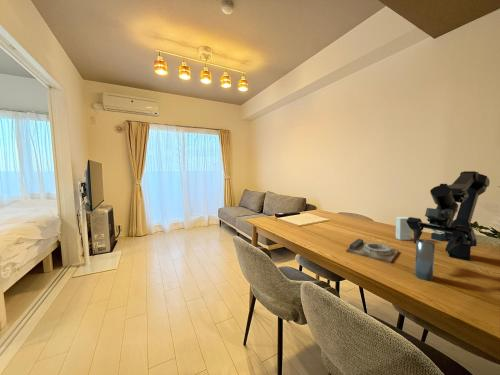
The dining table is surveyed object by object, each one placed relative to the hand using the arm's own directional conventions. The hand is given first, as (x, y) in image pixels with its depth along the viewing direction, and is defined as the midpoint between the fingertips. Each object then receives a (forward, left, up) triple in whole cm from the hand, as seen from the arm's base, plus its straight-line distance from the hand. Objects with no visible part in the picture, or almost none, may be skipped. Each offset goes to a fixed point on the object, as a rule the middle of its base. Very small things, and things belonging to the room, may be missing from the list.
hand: (429, 246), depth 75 cm
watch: (0, -52, -11) cm, 54 cm away
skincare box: (+14, -40, -11) cm, 44 cm away
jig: (+21, -9, -10) cm, 25 cm away
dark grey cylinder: (+1, +4, -11) cm, 11 cm away
